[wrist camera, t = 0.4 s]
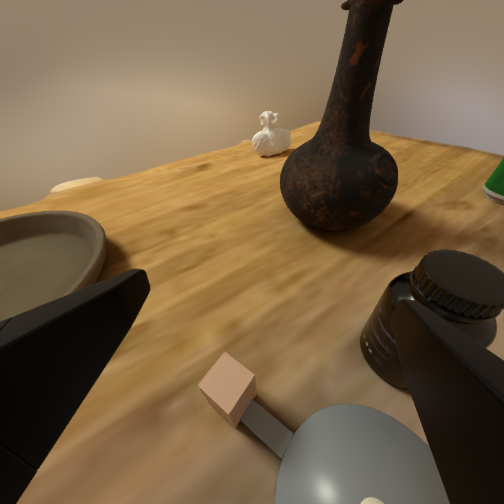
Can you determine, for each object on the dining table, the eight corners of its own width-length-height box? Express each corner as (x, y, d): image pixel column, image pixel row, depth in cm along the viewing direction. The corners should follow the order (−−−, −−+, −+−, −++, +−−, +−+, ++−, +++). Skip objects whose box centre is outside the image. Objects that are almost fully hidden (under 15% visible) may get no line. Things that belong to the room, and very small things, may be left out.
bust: (287, 155, 68) (277, 118, 67) (300, 145, 61) (288, 103, 59) (252, 163, 65) (240, 124, 63) (261, 153, 58) (248, 109, 56)
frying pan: (593, 775, 9) (784, 942, 6) (163, 740, 10) (111, 868, 7) (409, 374, 21) (438, 352, 17) (213, 373, 21) (203, 351, 18)
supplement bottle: (410, 321, 25) (482, 237, 16) (451, 391, 20) (585, 322, 11) (348, 322, 25) (388, 241, 17) (372, 392, 20) (449, 325, 12)
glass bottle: (333, 263, 31) (438, -85, 12) (258, 210, 42) (252, -18, 23) (402, 218, 38) (536, -48, 19) (322, 182, 49) (358, -10, 30)
